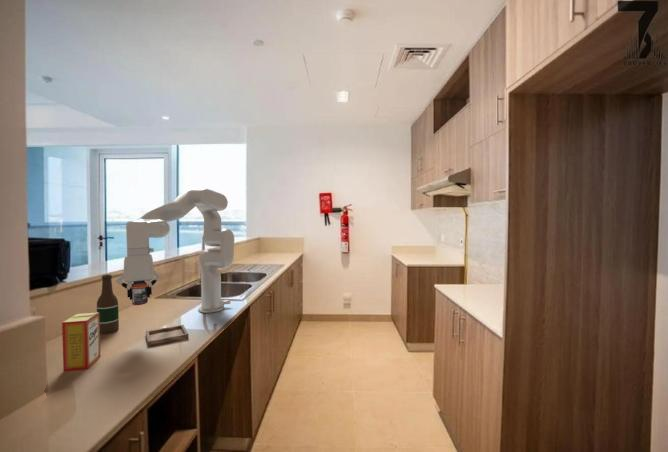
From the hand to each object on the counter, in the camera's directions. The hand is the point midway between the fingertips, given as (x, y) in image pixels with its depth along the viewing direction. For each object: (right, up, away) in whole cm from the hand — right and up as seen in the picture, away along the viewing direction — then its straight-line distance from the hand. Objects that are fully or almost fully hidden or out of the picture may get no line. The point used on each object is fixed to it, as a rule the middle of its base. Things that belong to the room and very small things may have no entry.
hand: (139, 297), depth 126 cm
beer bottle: (-20, -17, +10) cm, 28 cm away
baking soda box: (-7, -18, -20) cm, 27 cm away
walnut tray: (+9, -17, +3) cm, 19 cm away
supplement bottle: (0, -3, 0) cm, 3 cm away
